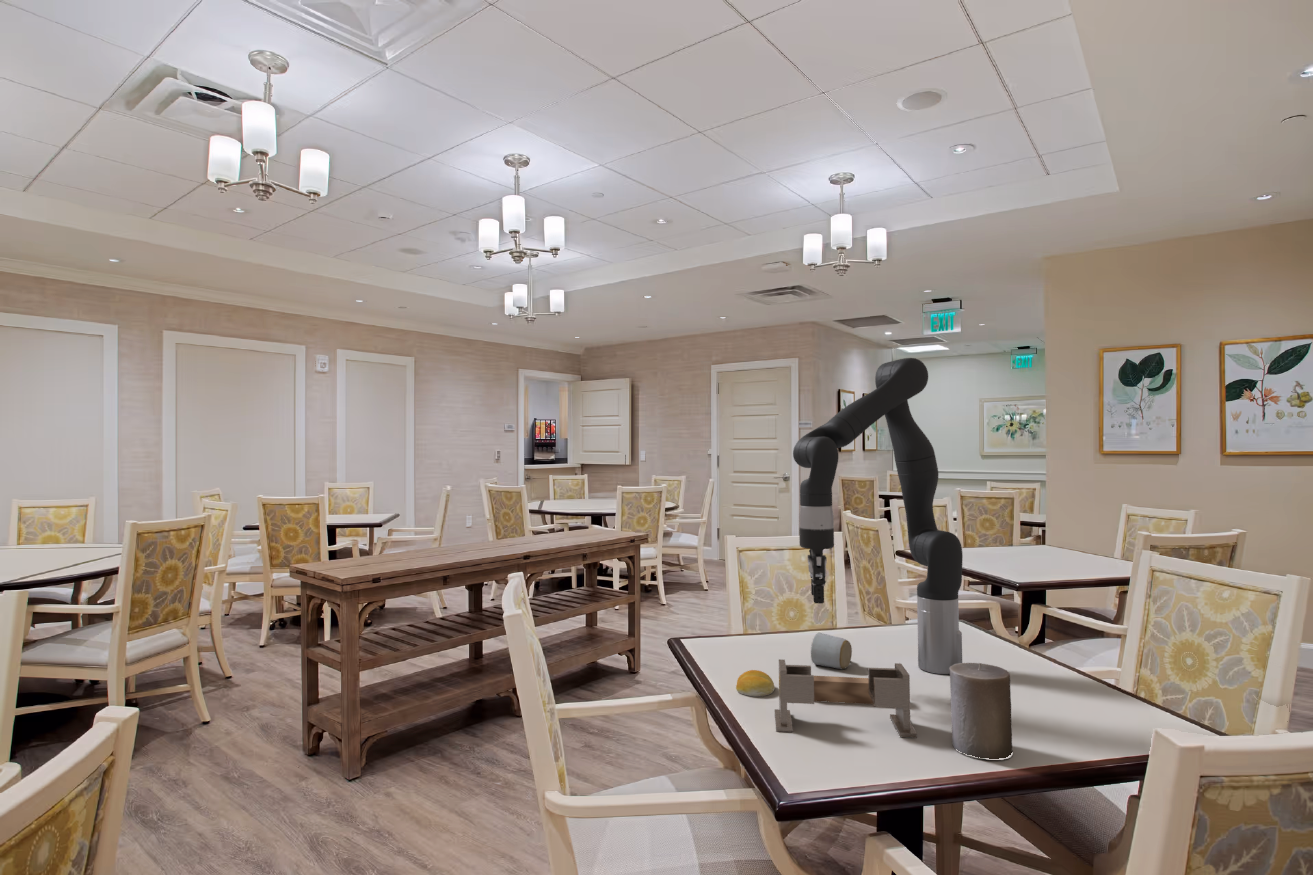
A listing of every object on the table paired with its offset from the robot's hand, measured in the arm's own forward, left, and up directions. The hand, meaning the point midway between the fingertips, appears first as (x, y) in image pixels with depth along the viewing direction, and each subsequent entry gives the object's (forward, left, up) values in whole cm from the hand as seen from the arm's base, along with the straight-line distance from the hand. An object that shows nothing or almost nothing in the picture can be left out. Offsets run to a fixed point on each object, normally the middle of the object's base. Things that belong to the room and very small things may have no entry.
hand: (817, 599), depth 151 cm
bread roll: (+14, +3, -20) cm, 25 cm away
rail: (-6, +7, -20) cm, 22 cm away
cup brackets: (-2, +21, -20) cm, 29 cm away
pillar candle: (-25, +29, -20) cm, 43 cm away
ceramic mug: (-5, -17, -20) cm, 27 cm away
